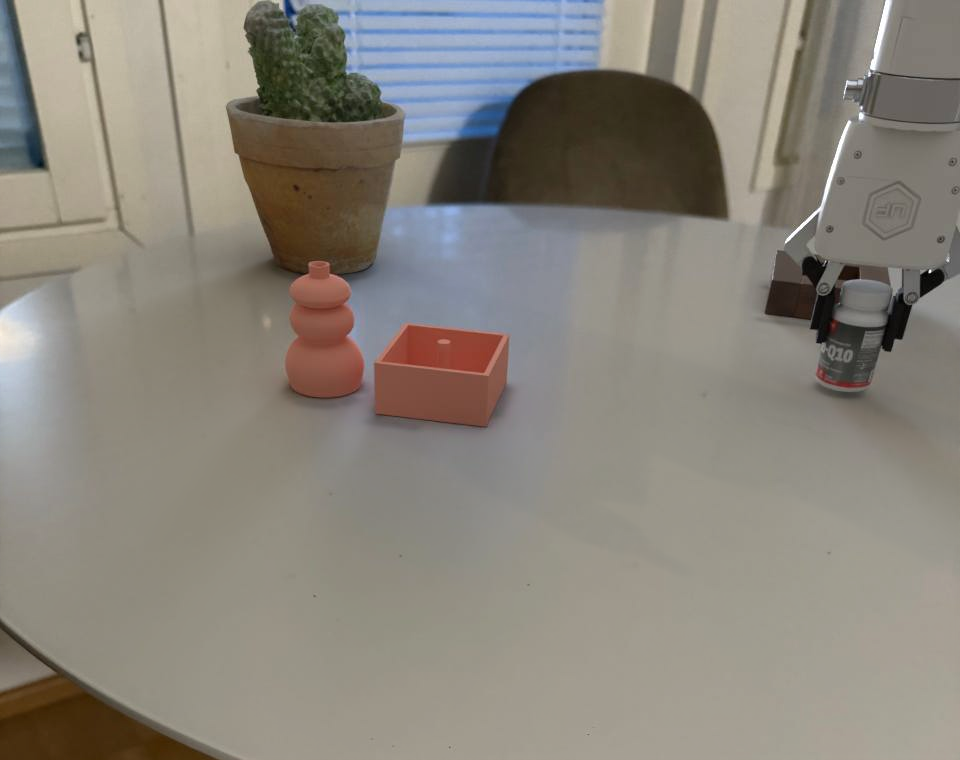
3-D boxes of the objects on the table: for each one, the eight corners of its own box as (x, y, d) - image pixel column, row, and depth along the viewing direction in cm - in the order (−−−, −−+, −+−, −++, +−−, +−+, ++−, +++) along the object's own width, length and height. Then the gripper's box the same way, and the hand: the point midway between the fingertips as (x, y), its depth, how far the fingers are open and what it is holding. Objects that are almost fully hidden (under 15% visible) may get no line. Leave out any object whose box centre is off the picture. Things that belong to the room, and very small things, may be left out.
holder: (877, 294, 107) (887, 262, 105) (882, 329, 98) (892, 294, 96) (769, 281, 109) (776, 249, 107) (764, 313, 100) (771, 279, 98)
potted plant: (262, 234, 116) (239, -13, 101) (414, 242, 116) (414, -5, 101) (224, 280, 102) (190, -1, 87) (398, 289, 102) (395, 9, 86)
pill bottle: (802, 377, 85) (825, 281, 80) (842, 369, 87) (866, 274, 82) (841, 397, 82) (867, 298, 77) (881, 387, 83) (909, 290, 78)
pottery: (506, 381, 83) (513, 265, 77) (486, 427, 75) (492, 301, 69) (308, 359, 85) (300, 244, 79) (269, 400, 78) (257, 277, 72)
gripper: (797, 100, 70) (749, 345, 81) (1048, 117, 66) (962, 370, 77) (799, 87, 76) (754, 317, 87) (1031, 102, 72) (953, 339, 83)
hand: (853, 340), depth 82 cm, fingers closed on pill bottle, 4 cm apart
